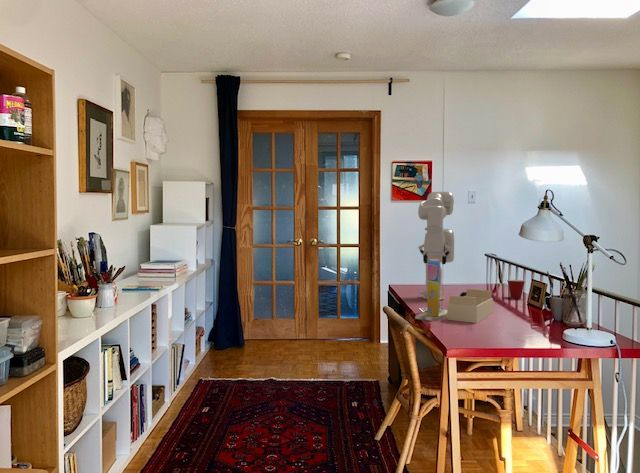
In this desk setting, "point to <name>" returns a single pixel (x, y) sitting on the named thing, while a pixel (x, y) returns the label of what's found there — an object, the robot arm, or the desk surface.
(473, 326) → the desk surface
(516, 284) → the plastic cup
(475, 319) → the carton
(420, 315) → the white glove
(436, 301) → the game box
